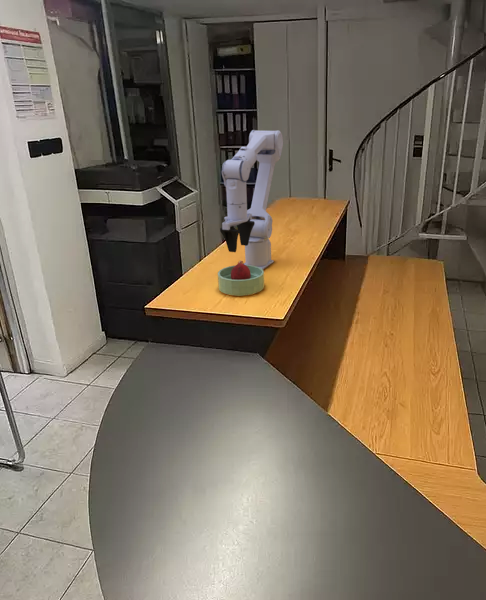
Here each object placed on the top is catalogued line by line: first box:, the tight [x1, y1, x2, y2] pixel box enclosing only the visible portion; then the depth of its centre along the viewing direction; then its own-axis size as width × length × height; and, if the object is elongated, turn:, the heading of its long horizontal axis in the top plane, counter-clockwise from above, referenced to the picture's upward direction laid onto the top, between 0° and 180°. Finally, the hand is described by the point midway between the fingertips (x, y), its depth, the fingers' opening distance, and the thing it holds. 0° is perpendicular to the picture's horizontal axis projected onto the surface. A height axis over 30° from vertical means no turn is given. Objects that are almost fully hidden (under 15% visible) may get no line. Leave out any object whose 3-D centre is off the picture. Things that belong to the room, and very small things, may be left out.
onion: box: [231, 260, 251, 280], centre depth 140 cm, size 6×6×8 cm
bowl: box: [217, 265, 265, 297], centre depth 141 cm, size 13×13×5 cm
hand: (238, 248), depth 145 cm, fingers open, 7 cm apart
